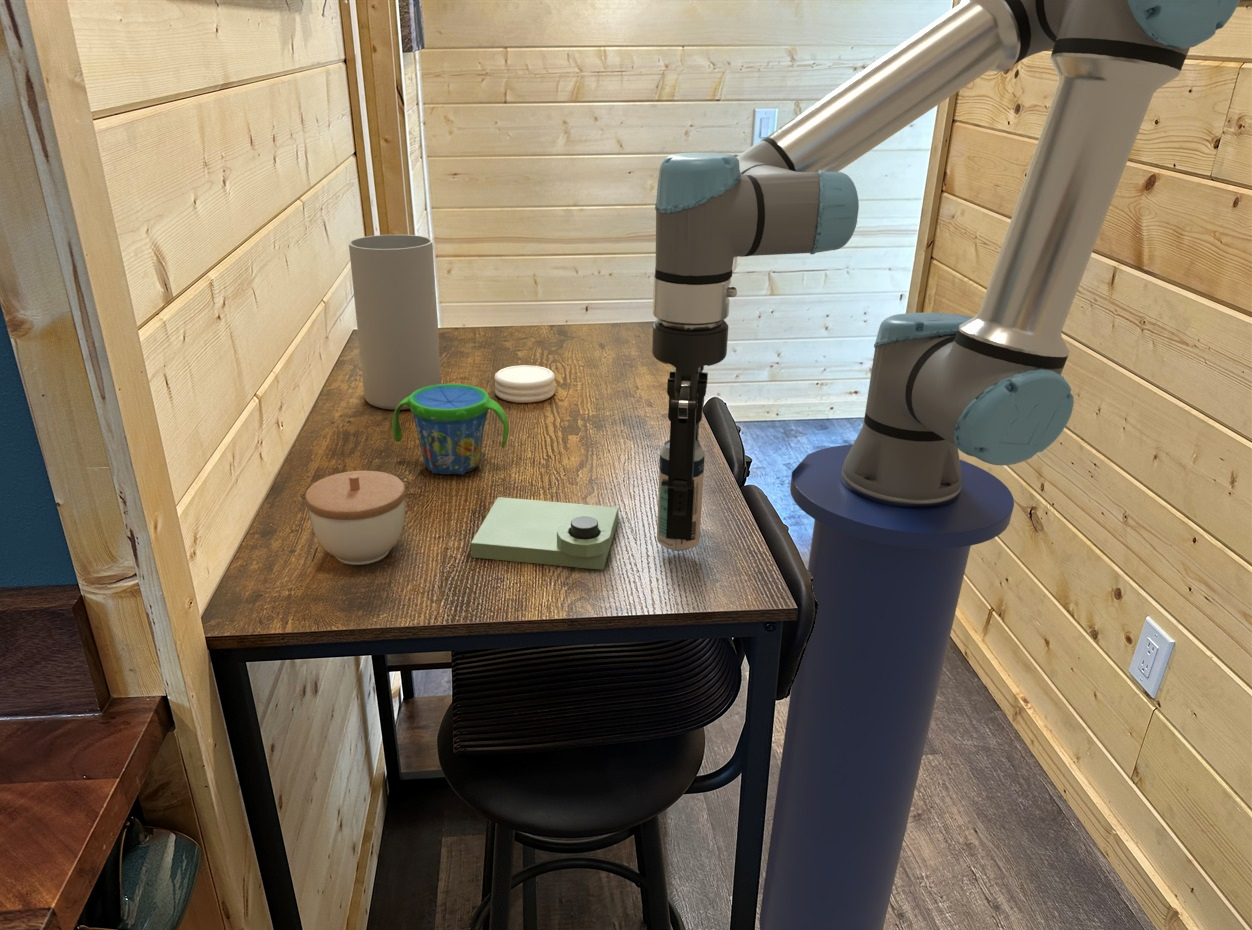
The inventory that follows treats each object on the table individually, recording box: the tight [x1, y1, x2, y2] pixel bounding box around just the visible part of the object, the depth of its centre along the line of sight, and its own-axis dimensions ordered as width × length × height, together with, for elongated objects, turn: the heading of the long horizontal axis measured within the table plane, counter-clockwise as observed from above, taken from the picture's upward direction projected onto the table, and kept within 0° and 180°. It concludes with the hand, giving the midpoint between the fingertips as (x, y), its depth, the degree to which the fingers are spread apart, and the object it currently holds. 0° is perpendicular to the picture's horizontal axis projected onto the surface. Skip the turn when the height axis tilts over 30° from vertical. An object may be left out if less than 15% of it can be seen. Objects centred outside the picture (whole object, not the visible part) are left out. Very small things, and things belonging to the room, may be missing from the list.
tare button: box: [571, 516, 598, 540], centre depth 100 cm, size 3×3×2 cm
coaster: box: [494, 364, 556, 404], centre depth 151 cm, size 10×10×4 cm
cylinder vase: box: [348, 234, 442, 411], centre depth 144 cm, size 12×12×25 cm
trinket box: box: [304, 470, 406, 566], centre depth 101 cm, size 11×11×9 cm
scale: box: [470, 496, 620, 571], centre depth 105 cm, size 15×13×4 cm
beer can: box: [656, 438, 706, 552], centre depth 100 cm, size 5×5×12 cm
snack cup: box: [391, 383, 510, 476], centre depth 123 cm, size 16×10×10 cm
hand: (680, 525), depth 101 cm, fingers closed on beer can, 5 cm apart
